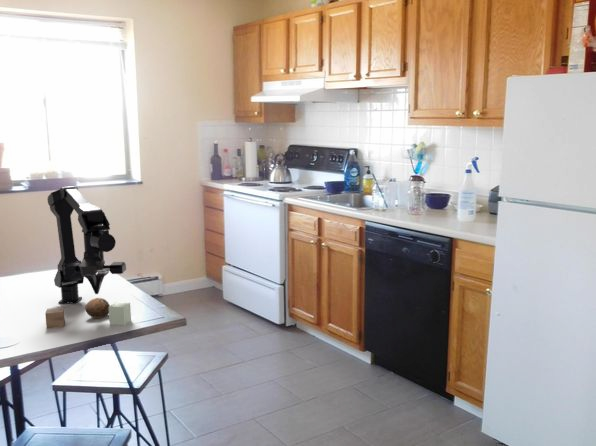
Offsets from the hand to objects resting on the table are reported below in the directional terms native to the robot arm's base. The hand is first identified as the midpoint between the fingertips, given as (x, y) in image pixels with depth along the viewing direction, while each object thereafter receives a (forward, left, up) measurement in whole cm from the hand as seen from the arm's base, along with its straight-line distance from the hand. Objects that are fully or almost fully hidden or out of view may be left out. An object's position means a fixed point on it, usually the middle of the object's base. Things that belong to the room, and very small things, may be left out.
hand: (96, 293), depth 192 cm
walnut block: (+8, -11, -8) cm, 16 cm away
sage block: (+7, +9, -8) cm, 14 cm away
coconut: (0, 0, -8) cm, 8 cm away
